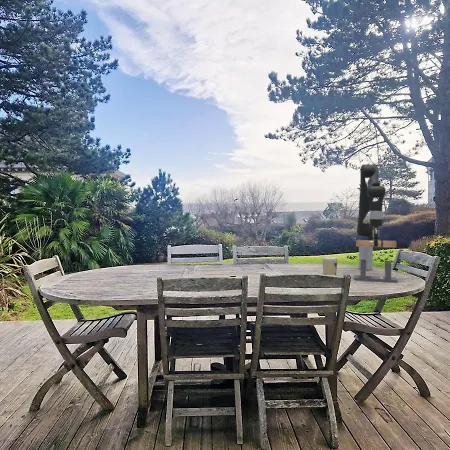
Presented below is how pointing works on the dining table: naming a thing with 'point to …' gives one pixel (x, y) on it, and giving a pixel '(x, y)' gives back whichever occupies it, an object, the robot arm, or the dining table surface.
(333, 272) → the coffee cup
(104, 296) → the dining table surface
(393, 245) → the copper tube
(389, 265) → the grey u-shaped frame
